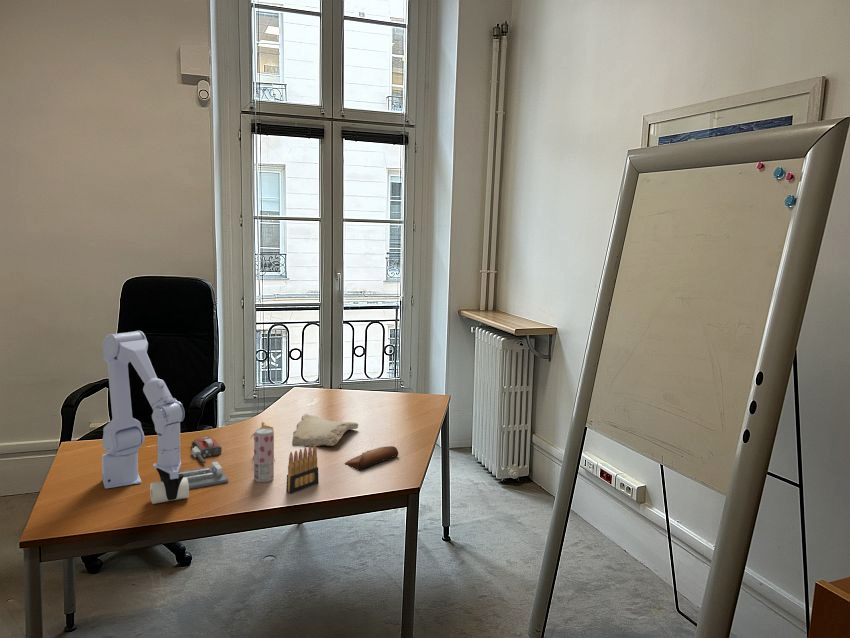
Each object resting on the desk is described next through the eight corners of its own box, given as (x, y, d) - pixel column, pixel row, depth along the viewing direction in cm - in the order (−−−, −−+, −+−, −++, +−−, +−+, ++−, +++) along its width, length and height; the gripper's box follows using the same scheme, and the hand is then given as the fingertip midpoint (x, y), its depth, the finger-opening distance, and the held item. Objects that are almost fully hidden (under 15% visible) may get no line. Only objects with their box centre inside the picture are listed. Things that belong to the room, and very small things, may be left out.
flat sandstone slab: (282, 446, 220) (336, 448, 215) (281, 425, 220) (334, 426, 214) (312, 428, 244) (361, 430, 238) (311, 409, 243) (360, 410, 238)
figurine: (268, 451, 211) (268, 417, 210) (277, 456, 207) (278, 421, 206) (245, 457, 206) (245, 421, 204) (255, 462, 201) (255, 426, 200)
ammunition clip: (290, 494, 179) (290, 453, 177) (286, 492, 180) (286, 451, 178) (318, 483, 187) (319, 444, 186) (314, 481, 188) (315, 442, 187)
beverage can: (276, 475, 191) (276, 428, 189) (270, 483, 186) (270, 434, 184) (257, 474, 192) (257, 427, 190) (251, 482, 186) (251, 433, 184)
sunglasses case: (380, 450, 217) (387, 436, 214) (392, 464, 214) (401, 451, 211) (341, 464, 203) (349, 449, 200) (355, 480, 200) (363, 465, 197)
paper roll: (153, 507, 167) (153, 487, 167) (150, 499, 172) (149, 480, 171) (189, 500, 172) (189, 481, 171) (185, 493, 177) (185, 474, 176)
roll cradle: (170, 492, 177) (170, 480, 176) (162, 477, 187) (162, 466, 186) (228, 482, 185) (228, 471, 185) (217, 468, 195) (217, 457, 195)
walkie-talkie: (185, 447, 213) (201, 467, 197) (185, 435, 212) (200, 453, 196) (211, 443, 218) (229, 462, 202) (211, 431, 217) (229, 449, 201)
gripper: (148, 441, 174) (149, 488, 176) (157, 458, 162) (158, 508, 164) (175, 437, 178) (176, 483, 179) (186, 453, 165) (187, 503, 167)
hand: (169, 495), depth 172 cm, fingers closed on paper roll, 5 cm apart
